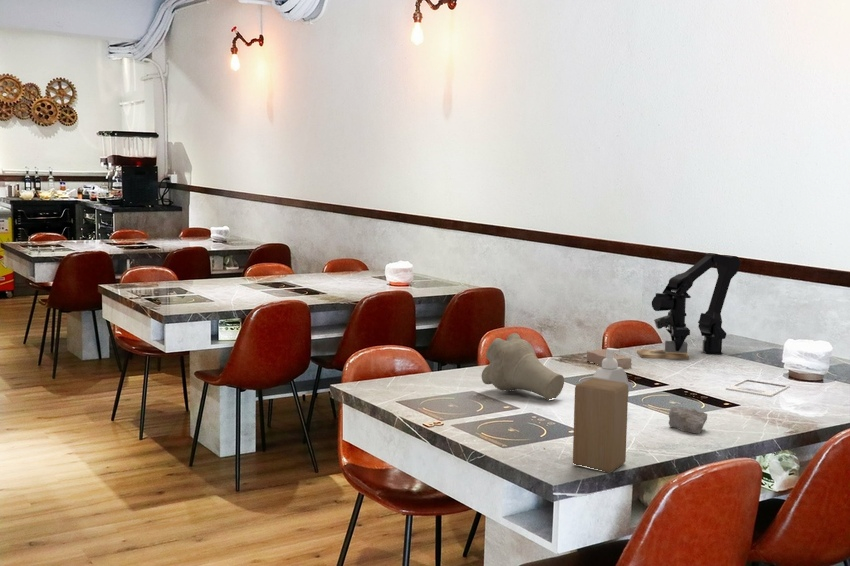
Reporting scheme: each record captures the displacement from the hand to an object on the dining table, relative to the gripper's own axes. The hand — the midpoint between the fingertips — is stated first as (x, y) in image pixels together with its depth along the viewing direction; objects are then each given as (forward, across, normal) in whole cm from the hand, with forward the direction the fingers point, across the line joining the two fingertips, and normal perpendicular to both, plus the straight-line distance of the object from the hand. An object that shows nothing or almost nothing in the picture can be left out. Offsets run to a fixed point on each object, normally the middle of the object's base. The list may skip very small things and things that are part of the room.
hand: (676, 349), depth 345 cm
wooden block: (+2, +137, -46) cm, 145 cm away
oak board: (+2, 0, -5) cm, 6 cm away
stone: (+3, +104, -18) cm, 105 cm away
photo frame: (+3, +52, +16) cm, 54 cm away
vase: (+3, +71, -61) cm, 94 cm away
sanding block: (+1, 0, 0) cm, 1 cm away
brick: (+3, +20, -28) cm, 35 cm away
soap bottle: (+2, +93, -38) cm, 101 cm away
